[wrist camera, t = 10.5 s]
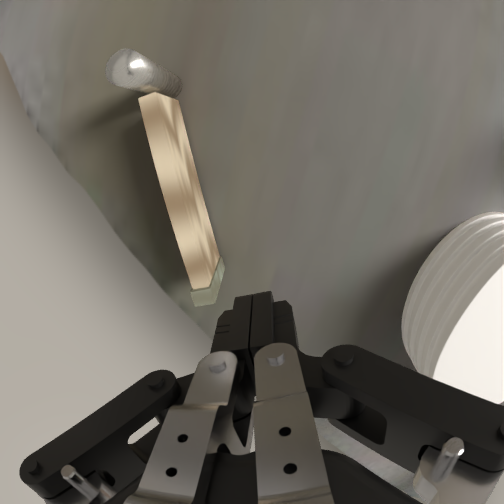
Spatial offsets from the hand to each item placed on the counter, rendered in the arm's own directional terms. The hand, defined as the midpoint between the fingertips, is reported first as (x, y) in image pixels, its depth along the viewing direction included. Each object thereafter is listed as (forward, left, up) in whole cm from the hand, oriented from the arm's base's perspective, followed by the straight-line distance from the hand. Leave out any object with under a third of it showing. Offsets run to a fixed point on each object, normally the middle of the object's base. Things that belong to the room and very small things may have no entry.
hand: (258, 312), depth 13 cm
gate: (-5, -5, -22) cm, 23 cm away
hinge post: (-16, -1, -22) cm, 28 cm away
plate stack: (+30, +20, -23) cm, 43 cm away
